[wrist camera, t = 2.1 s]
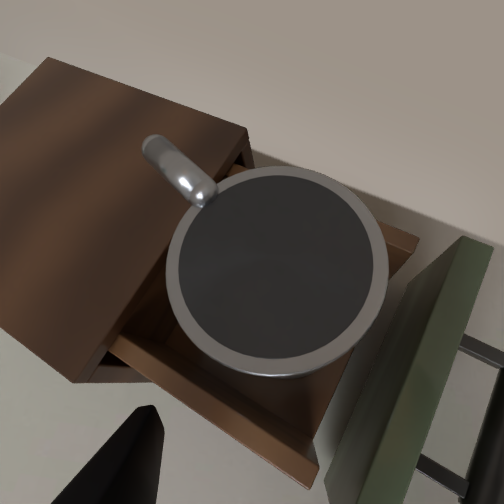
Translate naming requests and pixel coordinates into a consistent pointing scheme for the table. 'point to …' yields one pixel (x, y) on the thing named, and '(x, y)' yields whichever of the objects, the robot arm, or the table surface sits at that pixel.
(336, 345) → the cup
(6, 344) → the table surface
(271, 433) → the drawer
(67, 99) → the cabinet
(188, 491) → the table surface
